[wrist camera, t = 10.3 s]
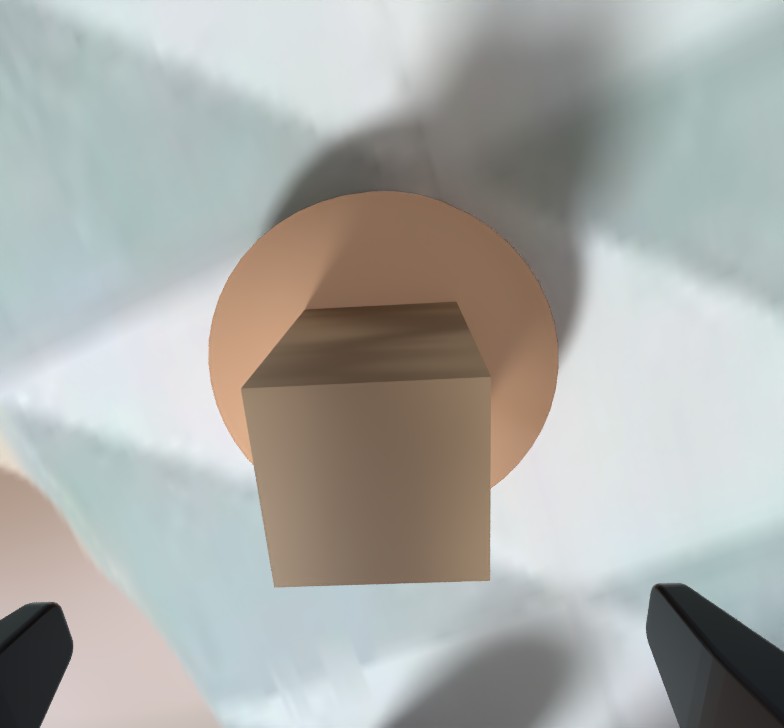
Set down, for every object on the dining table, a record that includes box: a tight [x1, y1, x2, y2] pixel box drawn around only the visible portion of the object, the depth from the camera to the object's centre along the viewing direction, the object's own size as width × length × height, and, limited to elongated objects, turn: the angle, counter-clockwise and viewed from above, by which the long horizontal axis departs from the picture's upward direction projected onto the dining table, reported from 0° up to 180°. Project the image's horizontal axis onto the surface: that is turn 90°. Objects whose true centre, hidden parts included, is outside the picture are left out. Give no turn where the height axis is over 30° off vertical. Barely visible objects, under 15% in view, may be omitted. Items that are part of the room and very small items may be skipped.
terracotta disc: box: [209, 191, 558, 489], centre depth 19 cm, size 12×12×3 cm
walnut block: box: [241, 302, 491, 587], centre depth 14 cm, size 5×5×7 cm
